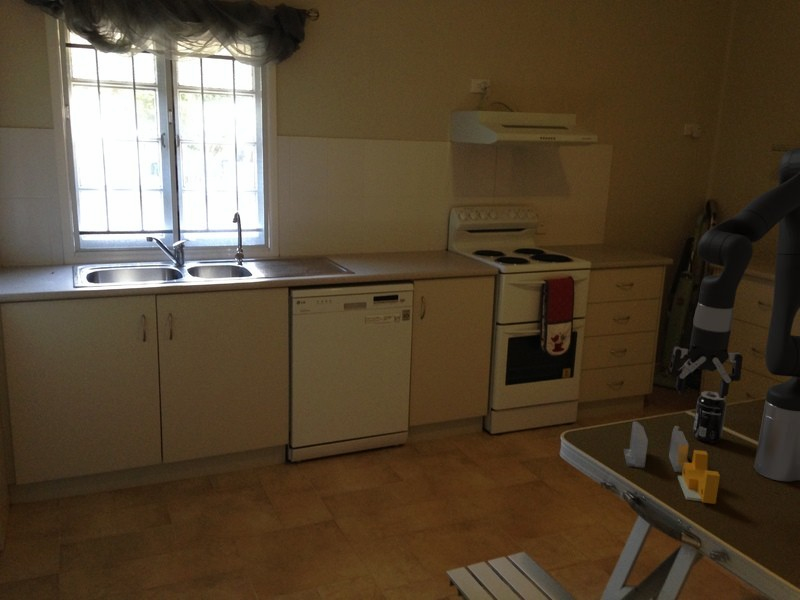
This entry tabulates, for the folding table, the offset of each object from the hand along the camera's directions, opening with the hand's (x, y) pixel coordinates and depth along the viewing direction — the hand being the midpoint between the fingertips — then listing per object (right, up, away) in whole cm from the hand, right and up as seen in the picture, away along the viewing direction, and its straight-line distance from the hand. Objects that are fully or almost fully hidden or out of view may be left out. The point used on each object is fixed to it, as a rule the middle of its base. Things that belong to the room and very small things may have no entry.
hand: (700, 394), depth 158 cm
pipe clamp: (-1, -21, 0) cm, 21 cm away
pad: (-1, -21, 0) cm, 21 cm away
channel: (-5, -17, +14) cm, 23 cm away
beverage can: (+13, -15, +28) cm, 34 cm away
